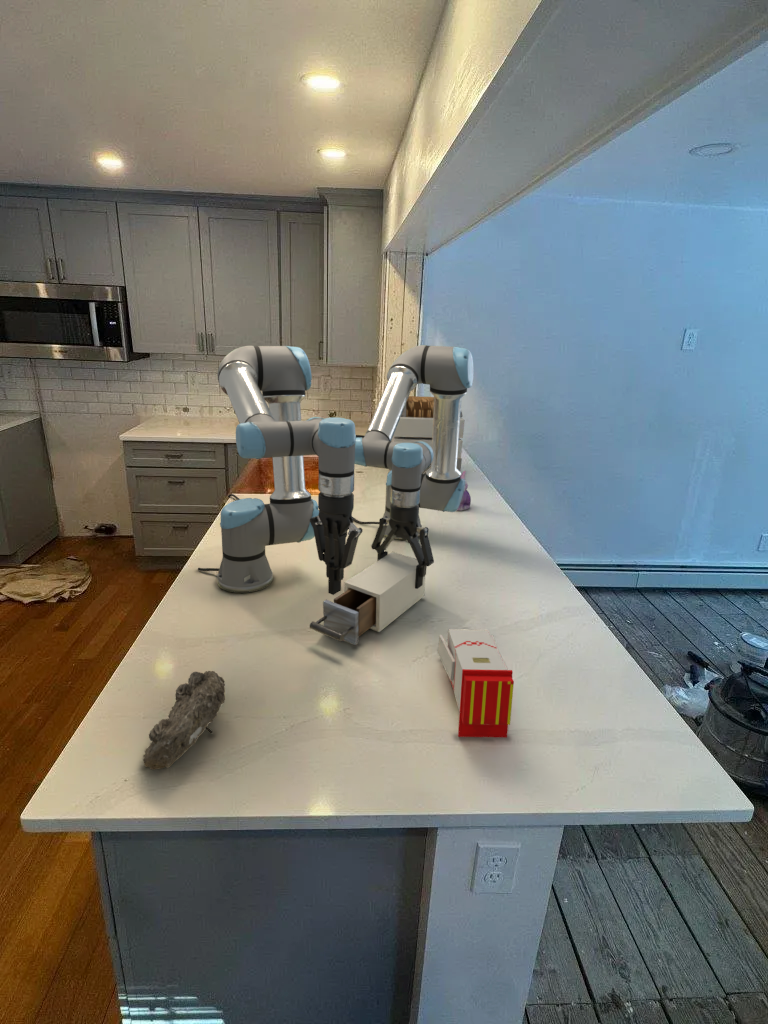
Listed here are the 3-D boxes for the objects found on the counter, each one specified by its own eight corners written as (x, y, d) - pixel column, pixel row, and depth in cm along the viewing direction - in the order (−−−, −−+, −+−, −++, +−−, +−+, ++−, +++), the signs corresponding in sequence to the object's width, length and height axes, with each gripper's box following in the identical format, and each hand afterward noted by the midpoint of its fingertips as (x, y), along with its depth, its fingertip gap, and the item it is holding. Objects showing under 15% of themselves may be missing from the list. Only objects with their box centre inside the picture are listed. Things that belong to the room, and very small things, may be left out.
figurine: (457, 512, 223) (460, 476, 218) (443, 504, 231) (446, 469, 226) (477, 509, 227) (480, 473, 222) (462, 502, 236) (465, 467, 230)
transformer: (382, 463, 289) (386, 382, 275) (445, 464, 293) (451, 384, 279) (390, 482, 257) (394, 392, 243) (460, 483, 261) (468, 394, 247)
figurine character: (364, 456, 306) (364, 446, 320) (364, 442, 303) (365, 433, 317) (351, 455, 306) (352, 446, 320) (352, 442, 303) (353, 433, 316)
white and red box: (488, 613, 130) (523, 677, 101) (484, 667, 133) (517, 744, 104) (435, 612, 130) (455, 676, 101) (432, 666, 133) (451, 743, 103)
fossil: (173, 672, 114) (226, 639, 109) (207, 702, 116) (260, 672, 111) (117, 763, 94) (178, 728, 89) (159, 797, 97) (220, 765, 92)
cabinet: (379, 632, 139) (380, 595, 135) (344, 618, 144) (344, 582, 140) (424, 596, 156) (426, 561, 152) (391, 584, 161) (392, 551, 157)
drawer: (341, 656, 128) (340, 624, 125) (308, 642, 133) (307, 611, 130) (402, 608, 148) (403, 579, 144) (372, 596, 153) (372, 569, 149)
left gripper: (301, 490, 120) (301, 589, 128) (350, 503, 114) (347, 607, 122) (323, 482, 126) (323, 577, 134) (371, 494, 120) (367, 594, 128)
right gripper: (359, 497, 149) (357, 573, 156) (437, 518, 137) (431, 598, 145) (375, 491, 155) (373, 564, 162) (451, 510, 143) (444, 587, 150)
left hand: (334, 591), depth 128 cm, fingers closed
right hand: (400, 580), depth 153 cm, fingers closed on cabinet, 11 cm apart
